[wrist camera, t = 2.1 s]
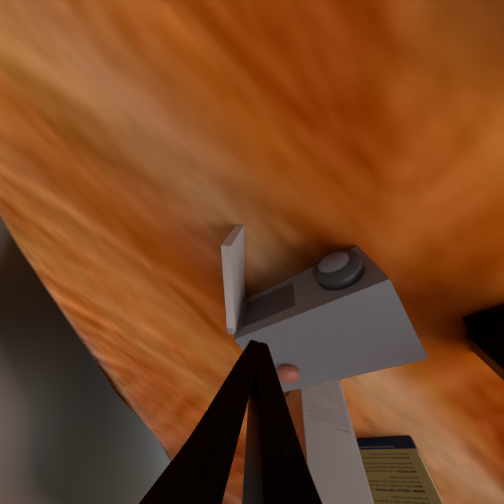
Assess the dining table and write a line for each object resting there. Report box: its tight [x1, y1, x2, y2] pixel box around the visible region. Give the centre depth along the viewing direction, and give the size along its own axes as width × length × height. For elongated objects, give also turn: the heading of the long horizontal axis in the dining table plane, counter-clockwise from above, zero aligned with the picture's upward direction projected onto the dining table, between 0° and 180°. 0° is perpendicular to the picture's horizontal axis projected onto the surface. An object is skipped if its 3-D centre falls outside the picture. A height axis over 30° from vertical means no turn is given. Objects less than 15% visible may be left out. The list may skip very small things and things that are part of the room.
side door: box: [221, 225, 245, 335], centre depth 18 cm, size 10×1×6 cm, turn 0°
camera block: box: [234, 246, 428, 392], centre depth 19 cm, size 14×10×7 cm
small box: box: [286, 380, 374, 504], centre depth 23 cm, size 8×6×13 cm
